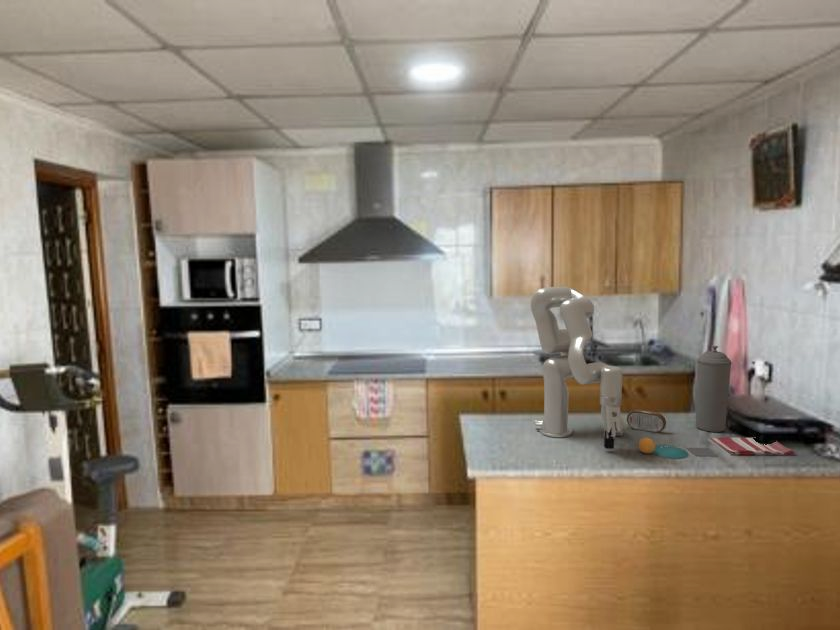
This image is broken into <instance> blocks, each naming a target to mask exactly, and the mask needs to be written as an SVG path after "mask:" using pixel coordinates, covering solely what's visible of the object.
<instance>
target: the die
mask: <svg viewBox="0 0 840 630" xmlns="http://www.w3.org/2000/svg"><path fill="white" fill-rule="evenodd" d="M627 426H628V423H627V422H626V421H625V420H624V419H623V417H622V416H621V432H620V433H618V432H617V431H616V429H615V434H616V436H615V437H617V436H620V437H621V436H623V434H624V432H625V430H626V428H627Z"/></svg>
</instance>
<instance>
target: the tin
mask: <svg viewBox="0 0 840 630" xmlns="http://www.w3.org/2000/svg"><path fill="white" fill-rule="evenodd" d="M626 421H627V422H626V423H627V425H628V426H629V427H630V428H631V429H633V430H634V431H635V430H636V431H642V432H648V433H655V434H657V433H658V434H659V433H662V431H664V429H665V428H666V426H667V420H666V417H665V416H664V415H663V414H662V413H660V412H657V411H652V410H645V409H640V408H639V409H638V408H637V409H636V408H635V409H631V410H630V411H629V412H628V414H627V417H626Z"/></svg>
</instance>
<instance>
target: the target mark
mask: <svg viewBox="0 0 840 630" xmlns="http://www.w3.org/2000/svg"><path fill="white" fill-rule="evenodd" d="M665 446H666V447H665ZM667 446H668V447H667ZM661 447H662V448H661ZM651 453H652V454H653V453H654V455H655V454H656V455H655V456H658V455H659V456H658V457H661V456H662V458H665V457H667V459H672V458H674V459H678V460H679V459H685V458H687V457H689V452H688V451H687V450H685V449H683V448H681V447H678V446H673V445H665V444H661V445H660V444H659V445H655V449H654V451H653V452H651Z"/></svg>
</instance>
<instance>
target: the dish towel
mask: <svg viewBox="0 0 840 630" xmlns="http://www.w3.org/2000/svg"><path fill="white" fill-rule="evenodd" d="M753 438H754V437H729V436H728V437H725V436H724V437H719V436H717V437H709V438H708V442H710V443H712V444H713V445H714V446H716V447H718V448H719V449H720V450H721V451H723V452H724V453H726V454H727V455H729V456H739V457H741V456H742V457H747V456H748V457H753V456H795V451H794V449H791V448H788V447H786V446H784V445H783V444H781V443H780V442H778V441H777V440H776V442H774V443H772V444H767V445H765V444H764V445H763V444H760V443H758V442H756V441H755V440H754V439H753Z"/></svg>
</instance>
